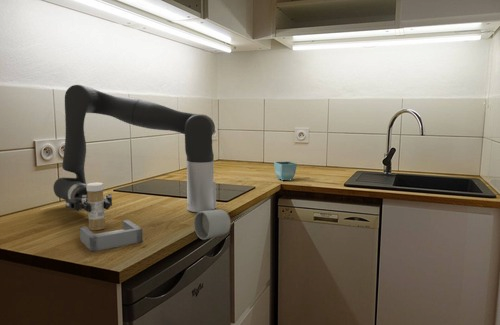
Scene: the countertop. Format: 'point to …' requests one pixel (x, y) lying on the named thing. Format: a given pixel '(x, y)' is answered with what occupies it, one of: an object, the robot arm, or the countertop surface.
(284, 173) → the flower pot
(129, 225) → the bay
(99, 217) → the sprinkles bottle
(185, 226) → the countertop surface
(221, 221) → the ceramic mug
